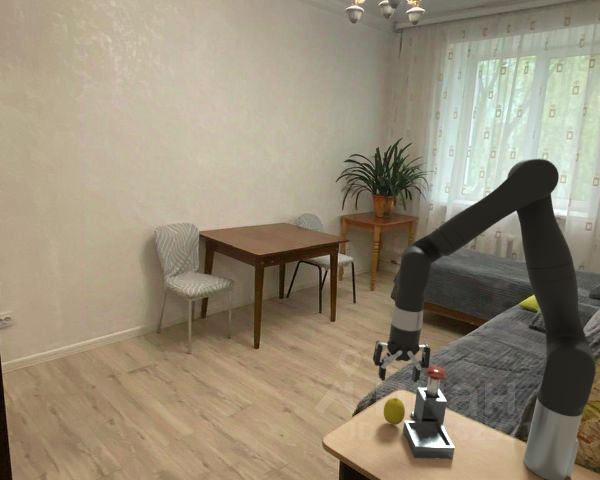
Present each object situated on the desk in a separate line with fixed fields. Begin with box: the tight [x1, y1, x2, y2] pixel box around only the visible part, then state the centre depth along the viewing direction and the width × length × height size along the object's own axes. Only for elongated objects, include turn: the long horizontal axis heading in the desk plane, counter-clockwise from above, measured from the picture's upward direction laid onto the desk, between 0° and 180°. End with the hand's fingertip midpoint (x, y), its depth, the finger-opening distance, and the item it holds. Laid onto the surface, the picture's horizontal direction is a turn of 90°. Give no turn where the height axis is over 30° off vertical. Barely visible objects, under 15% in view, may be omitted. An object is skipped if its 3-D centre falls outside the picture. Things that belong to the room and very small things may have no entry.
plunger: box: [425, 364, 446, 398], centre depth 113 cm, size 5×5×10 cm
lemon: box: [383, 397, 406, 426], centre depth 113 cm, size 6×6×8 cm
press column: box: [410, 386, 448, 431], centre depth 115 cm, size 7×7×9 cm
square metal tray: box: [402, 420, 456, 460], centre depth 107 cm, size 10×10×3 cm
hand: (398, 379), depth 111 cm, fingers open, 8 cm apart
